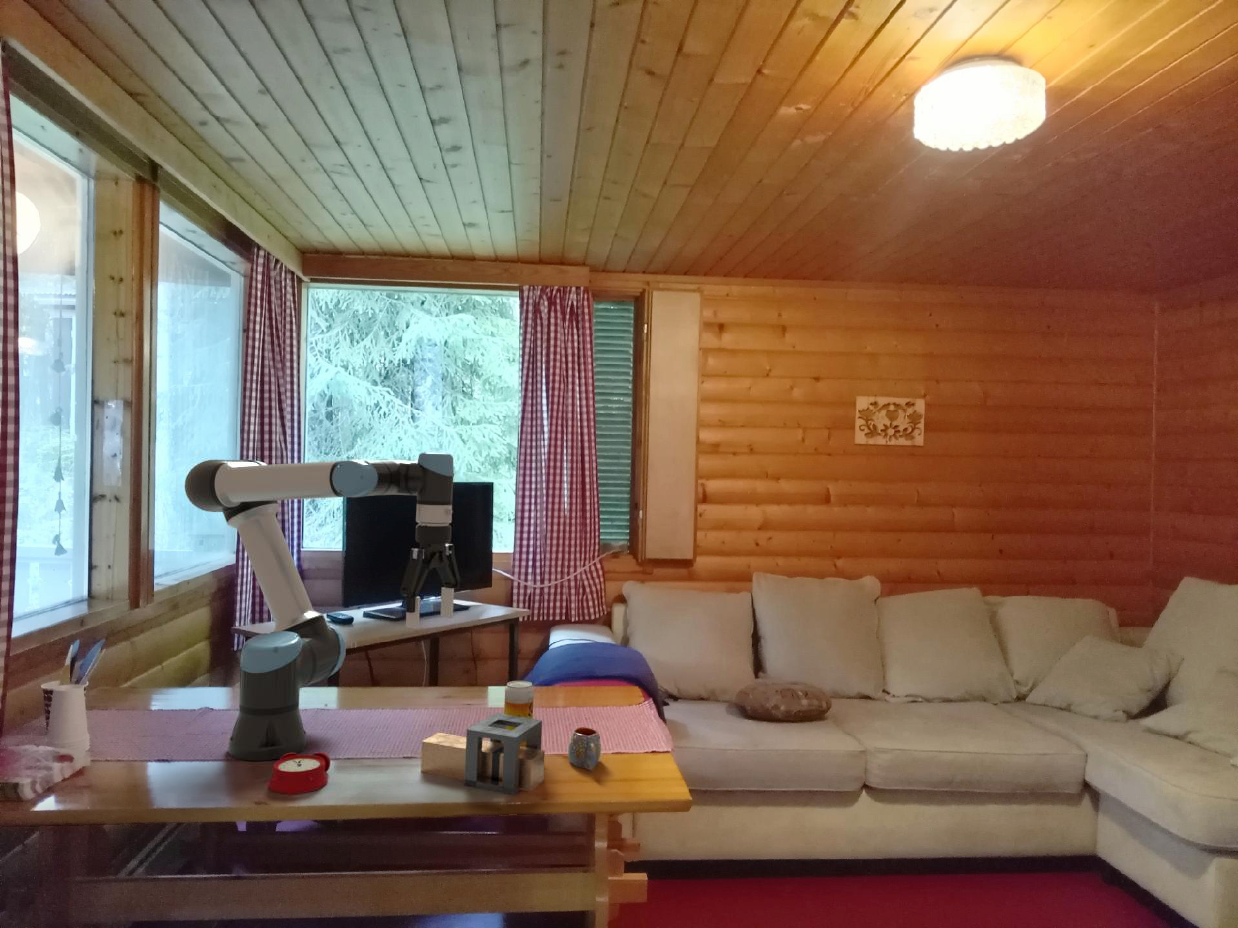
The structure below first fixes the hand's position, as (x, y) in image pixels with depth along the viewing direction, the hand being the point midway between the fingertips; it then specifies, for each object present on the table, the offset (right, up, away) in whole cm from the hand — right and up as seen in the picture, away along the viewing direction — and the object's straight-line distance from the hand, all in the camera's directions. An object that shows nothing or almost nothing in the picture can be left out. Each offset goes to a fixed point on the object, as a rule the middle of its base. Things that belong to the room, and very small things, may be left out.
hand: (430, 622), depth 184 cm
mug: (+34, -29, -8) cm, 45 cm away
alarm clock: (-20, -27, -22) cm, 40 cm away
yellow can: (+19, -28, -3) cm, 34 cm away
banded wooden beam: (+14, -28, -16) cm, 35 cm away
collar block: (+18, -28, -17) cm, 37 cm away
